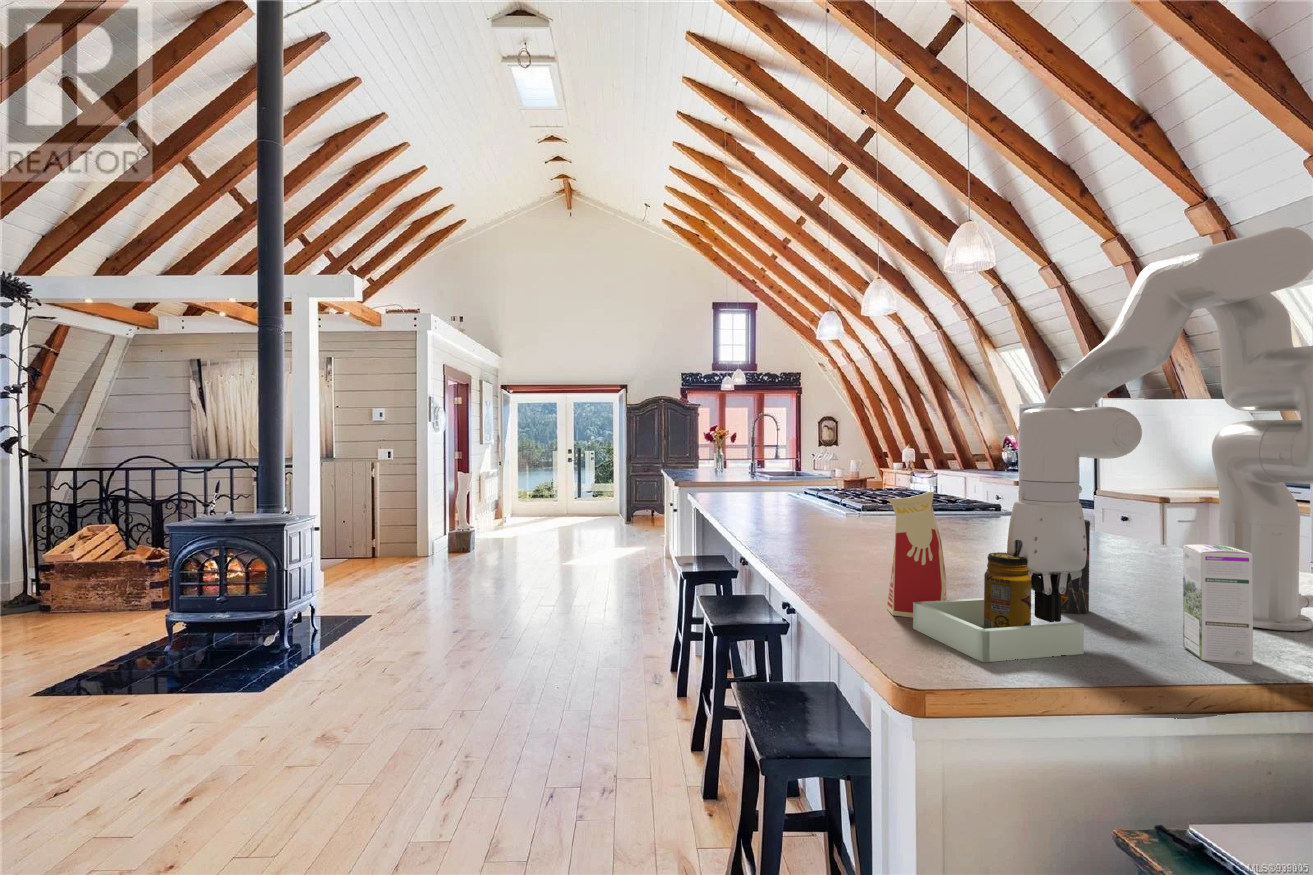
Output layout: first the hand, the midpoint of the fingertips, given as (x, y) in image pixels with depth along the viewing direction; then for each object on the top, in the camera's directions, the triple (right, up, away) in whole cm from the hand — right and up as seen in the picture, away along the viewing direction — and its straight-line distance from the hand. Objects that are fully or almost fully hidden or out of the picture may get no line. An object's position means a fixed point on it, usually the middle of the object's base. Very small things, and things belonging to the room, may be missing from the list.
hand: (1047, 619), depth 97 cm
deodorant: (+12, -3, +15) cm, 20 cm away
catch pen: (-9, -3, -2) cm, 9 cm away
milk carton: (-14, -3, +13) cm, 19 cm away
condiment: (-7, -3, -1) cm, 8 cm away
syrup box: (+18, -3, -8) cm, 20 cm away
